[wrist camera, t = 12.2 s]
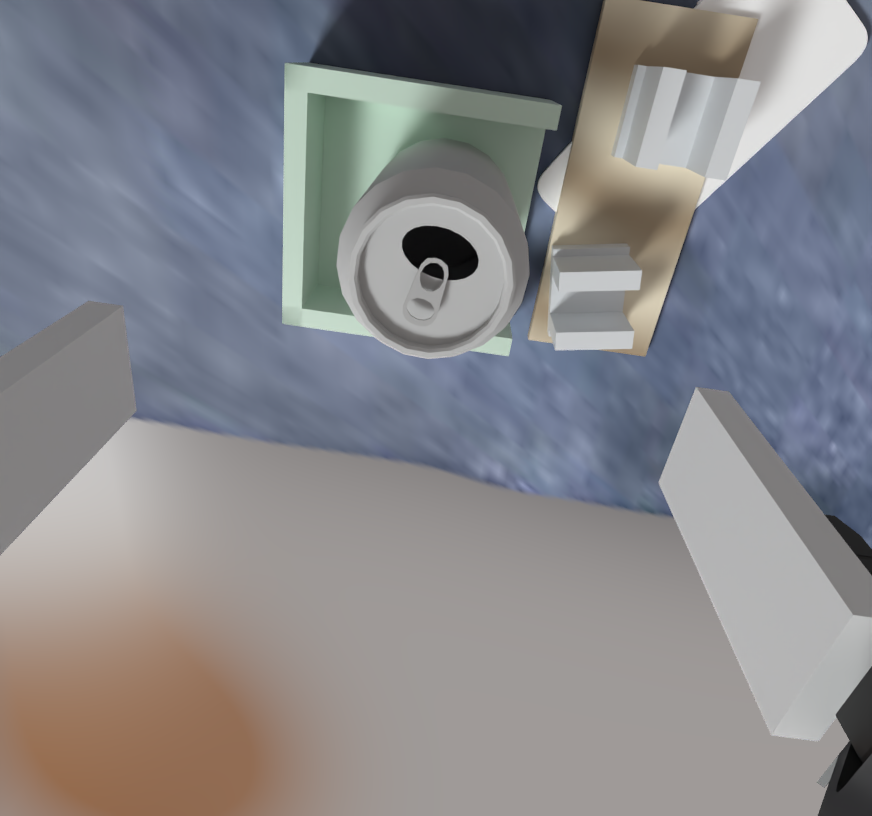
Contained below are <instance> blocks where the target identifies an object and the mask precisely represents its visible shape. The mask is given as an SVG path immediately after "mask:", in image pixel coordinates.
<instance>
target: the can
mask: <svg viewBox="0 0 872 816" xmlns="http://www.w3.org/2000/svg"><path fill="white" fill-rule="evenodd" d="M336 266H337V271H338V276H339V281H340V286H341V290H342V295H343V296H344V298H345V300H346V302H347V304H348V305H349V307H350V309H351V311H352V313H353V314H354V316H355V318H356V320H357V321H358V322H359V323H360V324H361V325H363V326H364V327H365V328H366V329H367V330H368V331H369V332H370V333H371V334H372V335H373V336H374V337H375V338H376V339H377V340H379V341H380V342H381V343H383V344H385V345H387V346H389V347H391V348H393V349H395V350H397V351H399V352H401V353H403V354H406V355H411V356H416V357H421V358H426V359H433V358H444V357H453V356H456V355H460V354H462V353H465V352H467V351H470V350H472V349H475V348H477V347H480V346H482V345H484V344H485V343H487V342H488V341H489V340H490V339H492V338H493V337H494V336H495V335H497V334H498V333H499V332H500V331H501V330H503V329H504V328H505V327H506V326H507V324H508V323H509V321H510V320H511V318H512V317H513V315H514V314H515V312H516V311H517V309H518V308H519V306H520V305H521V303H522V300H523V296H524V293H525V289H526V286H527V282H528V278H529V275H530V274H529V254H528V243H527V240H526V236H525V233H524V230H523V227H522V224H521V221H520V218H519V215H518V212H517V209H516V206H515V202H514V199H513V196H512V194H511V191H510V188H509V186H508V183H507V181H506V178H505V176H504V174H503V172H502V171H501V170H500V169H499V168H498V166H497V165H496V164H495V163H494V161H493V160H492V159H491V158H490V157H489V155H487V154H485V153H484V152H482V151H480V150H479V149H477V148H475V147H474V146H472V145H471V144H469V143H466V142H461V141H457V140H452V139H447V138H440V139H433V140H425V141H420V142H418V143H416V144H414V145H412V146H410V147H408V148H406V149H404V150H402V151H400V152H399V153H398V154H397V155H396V156H395V157H394V158H393V159H392V160H391V161H390V162H389V163H388V164H387V165H386V166H385V168H384V169H383V170H382V171H381V172H380V174H379V175H378V176H377V178H376V179H375V180H374V181H373V183H372V184H371V185H370V187H369V188H368V189H367V190H366V192H365V193H364V194H363V195H362V197H361V198H360V199H359V201H358V202H357V203H356V204H355V206H354V207H353V209H352V211H351V213H350V215H349V217H348V219H347V221H346V223H345V226H344V228H343V230H342V232H341V234H340V238H339V247H338V256H337V264H336Z"/></svg>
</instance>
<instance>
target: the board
mask: <svg viewBox="0 0 872 816" xmlns="http://www.w3.org/2000/svg"><path fill="white" fill-rule="evenodd" d="M757 22H758V19H755V18H749V17H743V16H736V15H730V14H724V13H717V12H711V11H705V10H699V9H692V8H686V7H680V6H673V5H667V4H661V3H654V2H648V1H642V0H603V5H602V9H601V13H600V18H599V22H598V27H597V31H596V35H595V40H594V44H593V49H592V53H591V58H590V62H589V66H588V71H587V75H586V80H585V84H584V89H583V93H582V97H581V102H580V106H579V111H578V115H577V120H576V124H575V128H574V133H573V137H572V145H571V150H570V154H569V158H568V163H567V167H566V172H565V176H564V180H563V185H562V189H561V194H560V198H559V202H558V207H557V211H556V212H555V217H554V221H553V226H552V230H551V235H550V239H549V243H548V248H547V252H546V257H545V261H544V265H543V270H542V274H541V279H540V283H539V288H538V292H537V296H536V301H535V305H534V310H533V314H532V319H531V323H530V327H529V332H528V340H534V341H541V342H548V343H553V341H552V338H551V337H549V335H548V332H547V327H548V307H549V288H550V269H551V250H552V245H582V244H618V243H627V244H628V245H629V247H630V252H629V255H630V256H631V257H632V259H633V260H634V261H635V262H636V264H637V265H638V266H639V267H640V268H641V270H642V276H641V283H640V290H625V296H624V304H623V313H624V315H625V317H626V318H627V320H628V321H629V323H630V325H631V326H632V328H633V330H634V338H633V346H632V349H599V350H604V351H611V352H618V353H625V354H631V355H638V356H646V353H647V350H648V347H649V344H650V341H651V338H652V335H653V332H654V329H655V326H656V323H657V320H658V317H659V314H660V311H661V308H662V305H663V302H664V299H665V296H666V293H667V290H668V287H669V284H670V281H671V278H672V275H673V272H674V270H675V267H676V264H677V261H678V258H679V255H680V252H681V249H682V246H683V243H684V240H685V237H686V234H687V231H688V228H689V225H690V222H691V219H692V216H693V213H694V210H695V207H696V204H697V201H698V198H699V195H700V192H701V189H702V186H703V183H704V180H705V177H703V176H701V175H699V174H697V173H695V172H693V171H691V170H689V169H687V168H683V167H676V166H670V165H663V164H659V166H658V169H657V170H653V169H646V168H640V167H635V166H633V165H632V164H630V163H629V162H627V161H626V160H624V159H623V158H617V157H613V156H612V155H611V153H612V149H613V145H614V141H615V137H616V133H617V129H618V126H619V122H620V118H621V114H622V110H623V106H624V102H625V99H626V95H627V91H628V87H629V83H630V79H631V75H632V71H633V68H634V65H642V66H657V67H669V68H675V69H681V70H687V71H686V72H687V73H694V74H700V75H706V76H713V77H725V78H739V76H740V73H741V70H742V67H743V64H744V61H745V58H746V55H747V52H748V49H749V46H750V43H751V40H752V37H753V34H754V31H755V28H756V25H757Z"/></svg>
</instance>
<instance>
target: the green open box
mask: <svg viewBox="0 0 872 816" xmlns="http://www.w3.org/2000/svg"><path fill="white" fill-rule="evenodd" d="M561 108H562V105H560V104H558V103H556V102H554V101H552V100H549V99H542V98H536V97H529V96H523V95H516V94H510V93H503V92H497V91H490V90H484V89H477V88H471V87H464V86H458V85H451V84H445V83H438V82H432V81H425V80H419V79H412V78H406V77H399V76H393V75H386V74H380V73H374V72H367V71H361V70H354V69H348V68H341V67H335V66H328V65H322V64H315V63H285V96H284V197H283V297H282V324H287V325H294V326H301V327H308V328H315V329H322V330H329V331H336V332H343V333H350V334H357V335H364V336H371V337H374V336H373V335H372V334H371V333H370V332H369V331H368V330H367V329H366V328H365V327H364V326H363V325H361V324H360V323H359V322H358V321H357V320H356V318H355V316H354V314H353V313H352V311H351V309H350V307H349V305H348V304H347V302H346V300H345V298H344V296H343V295H342V290H341V286H340V281H339V276H338V271H337V266H336V264H337V256H338V247H339V238H340V234H341V232H342V230H343V228H344V226H345V223H346V221H347V219H348V217H349V215H350V213H351V211H352V209H353V207H354V206H355V204H356V203H357V202H358V201H359V199H360V198H361V197H362V195H363V194H364V193H365V192H366V190H367V189H368V188H369V187H370V185H371V184H372V183H373V181H374V180H375V179H376V178H377V176H378V175H379V174H380V172H381V171H382V170H383V169H384V168H385V166H386V165H387V164H388V163H389V162H390V161H391V160H392V159H393V158H394V157H395V156H396V155H397V154H398V153H399V152H400V151H402V150H404V149H406V148H408V147H410V146H412V145H414V144H416V143H418V142H420V141H425V140H433V139H440V138H447V139H452V140H457V141H461V142H466V143H469V144H471V145H472V146H474V147H475V148H477V149H479V150H480V151H482V152H484V153H485V154H487V155H489V157H490V158H491V159H492V160H493V161H494V163H495V164H496V165H497V166H498V168H499V169H500V170H501V171H502V172H503V174H504V176H505V178H506V181H507V183H508V186H509V188H510V191H511V194H512V196H513V199H514V202H515V206H516V209H517V212H518V215H519V218H520V221H521V224H522V227H523V230H524V232H525V228H526V223H527V218H528V213H529V208H530V203H531V198H532V193H533V188H534V184H535V179H536V174H537V169H538V164H539V159H540V154H541V149H542V145H543V140H544V135H545V130H546V129H549V130H556V131H557V127H558V122H559V118H560V113H561ZM511 343H512V334H511V327H510V321H509V323H508V324H507V326H506V327H505V328H504V329H503V330H501V331H500V332H499V333H498V334H497V335H495V336H494V337H493V338H492V339H490V340H489V341H488V342H487V343H485V344H484V345H482V346H480V347H477V348H475V349H472V350H470V351H476V352H483V353H490V354H497V355H504V356H509V352H510V347H511Z"/></svg>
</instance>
